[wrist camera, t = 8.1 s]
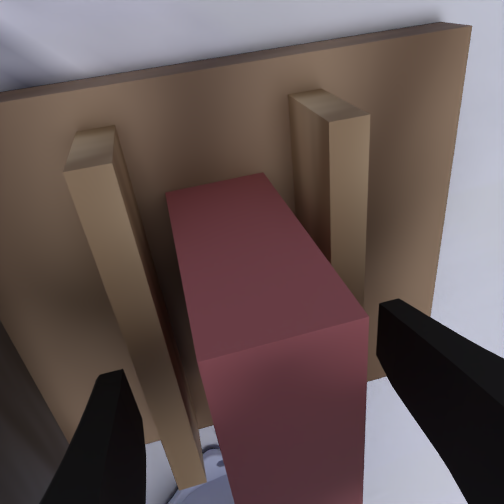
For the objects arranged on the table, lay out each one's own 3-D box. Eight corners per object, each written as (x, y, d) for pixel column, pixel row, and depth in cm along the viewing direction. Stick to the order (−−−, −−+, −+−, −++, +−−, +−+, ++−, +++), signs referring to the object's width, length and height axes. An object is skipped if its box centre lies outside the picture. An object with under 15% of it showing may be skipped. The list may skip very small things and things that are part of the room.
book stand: (441, 22, 14) (642, 45, 8) (405, 343, 21) (500, 464, 16) (-195, 123, 11) (-491, 251, 6) (20, 448, 19) (-22, 635, 13)
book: (263, 172, 13) (369, 316, 8) (283, 357, 18) (361, 540, 12) (165, 192, 13) (197, 362, 7) (210, 377, 17) (253, 577, 11)
